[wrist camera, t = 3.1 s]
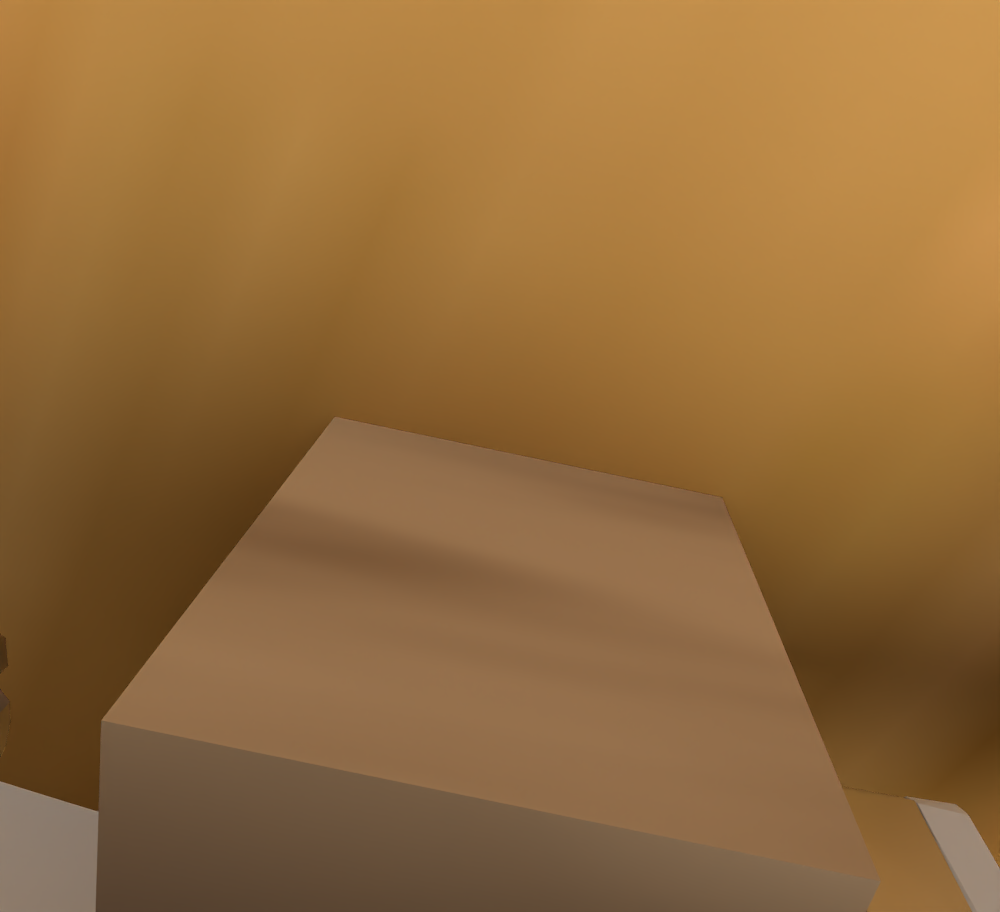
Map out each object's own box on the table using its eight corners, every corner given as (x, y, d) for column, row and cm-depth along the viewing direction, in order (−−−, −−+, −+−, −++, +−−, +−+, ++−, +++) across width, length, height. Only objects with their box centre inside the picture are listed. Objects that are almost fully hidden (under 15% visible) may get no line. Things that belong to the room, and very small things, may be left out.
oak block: (624, 797, 13) (671, 1314, 7) (293, 728, 13) (86, 1196, 7) (721, 495, 11) (879, 881, 5) (335, 415, 11) (100, 719, 5)
